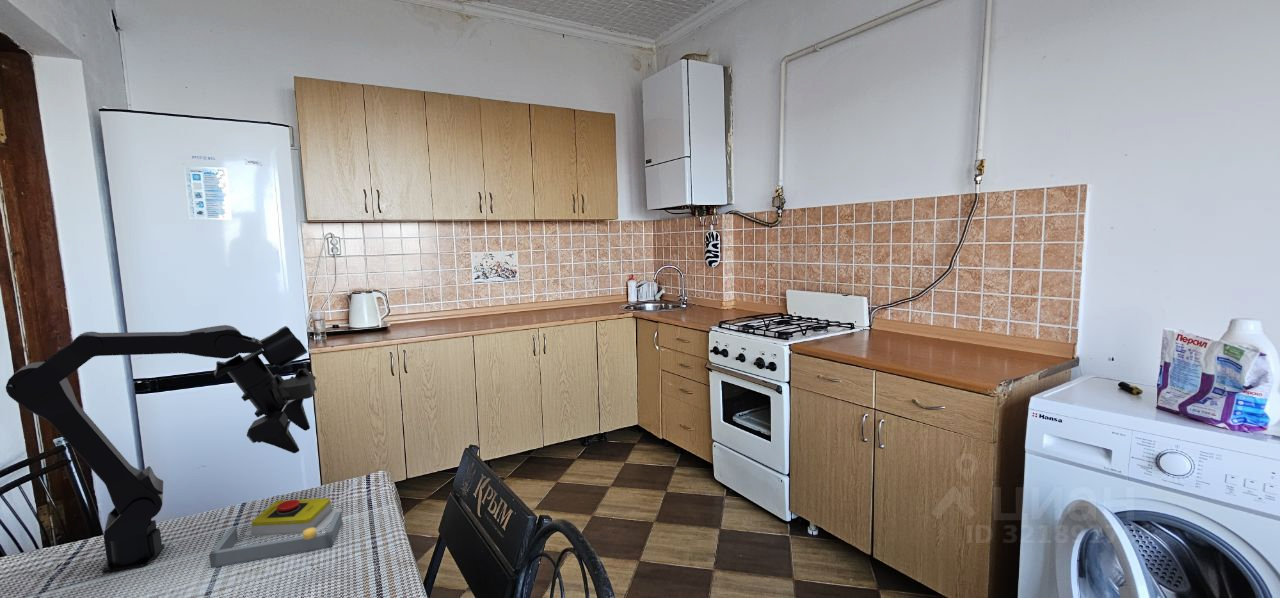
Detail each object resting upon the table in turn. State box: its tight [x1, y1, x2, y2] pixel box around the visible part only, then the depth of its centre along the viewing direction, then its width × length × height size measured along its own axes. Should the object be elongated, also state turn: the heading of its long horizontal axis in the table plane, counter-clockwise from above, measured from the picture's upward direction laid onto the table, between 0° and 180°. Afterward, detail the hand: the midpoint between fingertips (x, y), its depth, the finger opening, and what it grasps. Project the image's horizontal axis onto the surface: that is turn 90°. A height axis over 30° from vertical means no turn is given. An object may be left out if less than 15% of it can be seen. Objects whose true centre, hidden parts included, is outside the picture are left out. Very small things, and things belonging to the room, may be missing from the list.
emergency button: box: [244, 497, 343, 537], centre depth 111 cm, size 9×4×15 cm
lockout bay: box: [208, 511, 343, 568], centre depth 103 cm, size 19×10×4 cm, turn 107°
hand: (302, 440), depth 115 cm, fingers open, 9 cm apart
